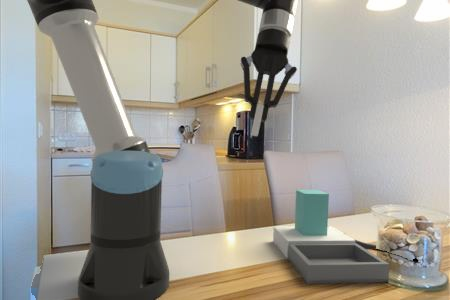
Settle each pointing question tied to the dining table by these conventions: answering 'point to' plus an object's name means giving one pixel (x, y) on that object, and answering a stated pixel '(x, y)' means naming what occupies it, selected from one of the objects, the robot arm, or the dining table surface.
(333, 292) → the dining table surface
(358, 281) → the tray
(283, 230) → the white flat box
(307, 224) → the block
